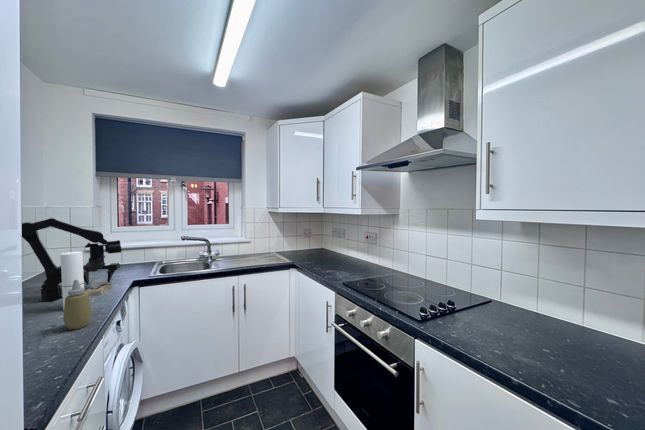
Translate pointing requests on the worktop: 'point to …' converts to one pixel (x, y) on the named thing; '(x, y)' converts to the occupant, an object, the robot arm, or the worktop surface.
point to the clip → (97, 283)
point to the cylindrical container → (71, 271)
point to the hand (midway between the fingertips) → (98, 283)
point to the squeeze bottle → (77, 307)
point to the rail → (98, 291)
